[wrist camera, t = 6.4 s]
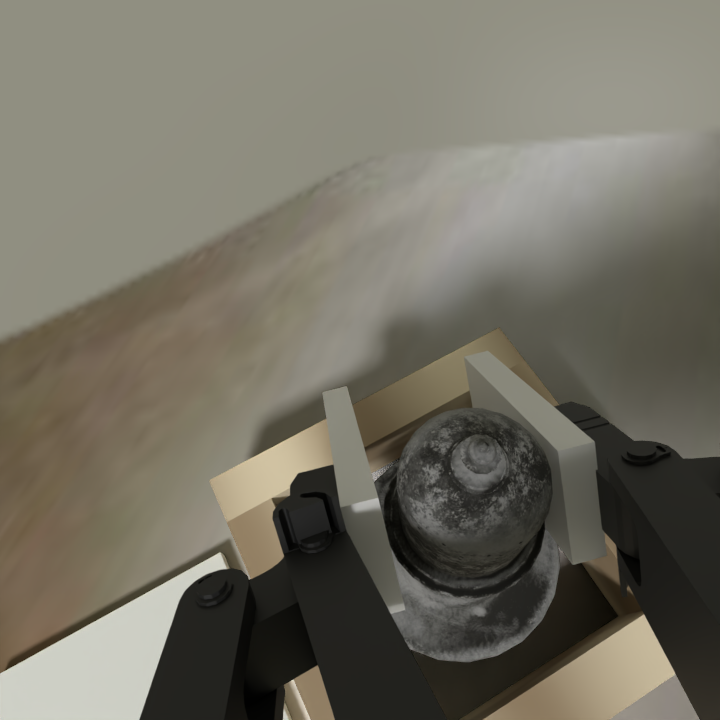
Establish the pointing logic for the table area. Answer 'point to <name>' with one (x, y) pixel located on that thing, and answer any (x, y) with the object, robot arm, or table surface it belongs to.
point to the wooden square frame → (385, 444)
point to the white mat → (101, 661)
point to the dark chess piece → (470, 535)
